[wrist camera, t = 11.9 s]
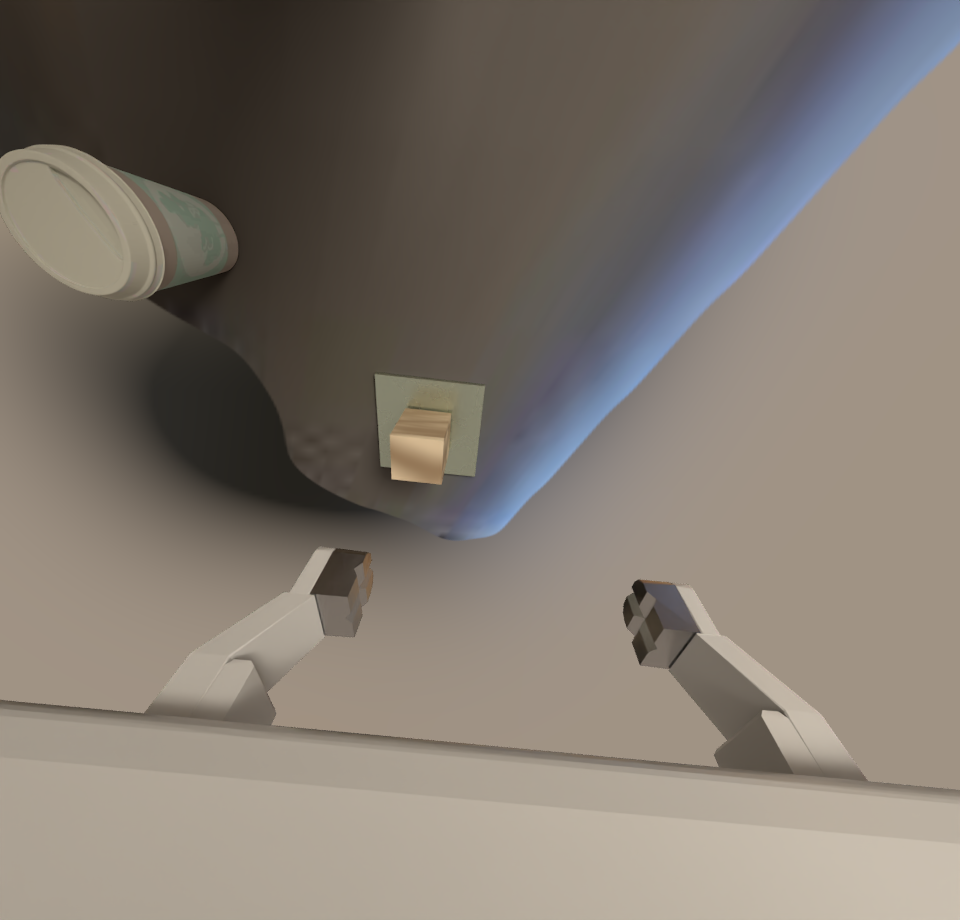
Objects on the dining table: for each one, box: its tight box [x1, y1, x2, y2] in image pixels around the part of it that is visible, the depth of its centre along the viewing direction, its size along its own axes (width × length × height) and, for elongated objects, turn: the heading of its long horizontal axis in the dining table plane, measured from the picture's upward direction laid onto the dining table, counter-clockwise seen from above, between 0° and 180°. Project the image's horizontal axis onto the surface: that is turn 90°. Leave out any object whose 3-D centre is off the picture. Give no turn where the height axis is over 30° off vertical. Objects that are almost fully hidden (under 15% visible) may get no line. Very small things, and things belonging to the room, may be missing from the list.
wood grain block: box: [390, 408, 451, 484], centre depth 37 cm, size 5×5×7 cm
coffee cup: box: [0, 145, 239, 301], centre depth 26 cm, size 9×8×12 cm
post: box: [375, 372, 485, 477], centre depth 37 cm, size 12×12×7 cm
